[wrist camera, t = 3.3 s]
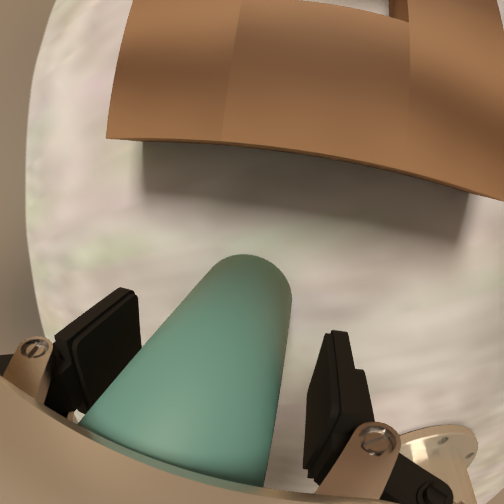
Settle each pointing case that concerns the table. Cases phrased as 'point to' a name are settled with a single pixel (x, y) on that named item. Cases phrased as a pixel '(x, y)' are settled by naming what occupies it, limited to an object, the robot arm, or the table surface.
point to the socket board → (322, 83)
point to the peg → (207, 377)
